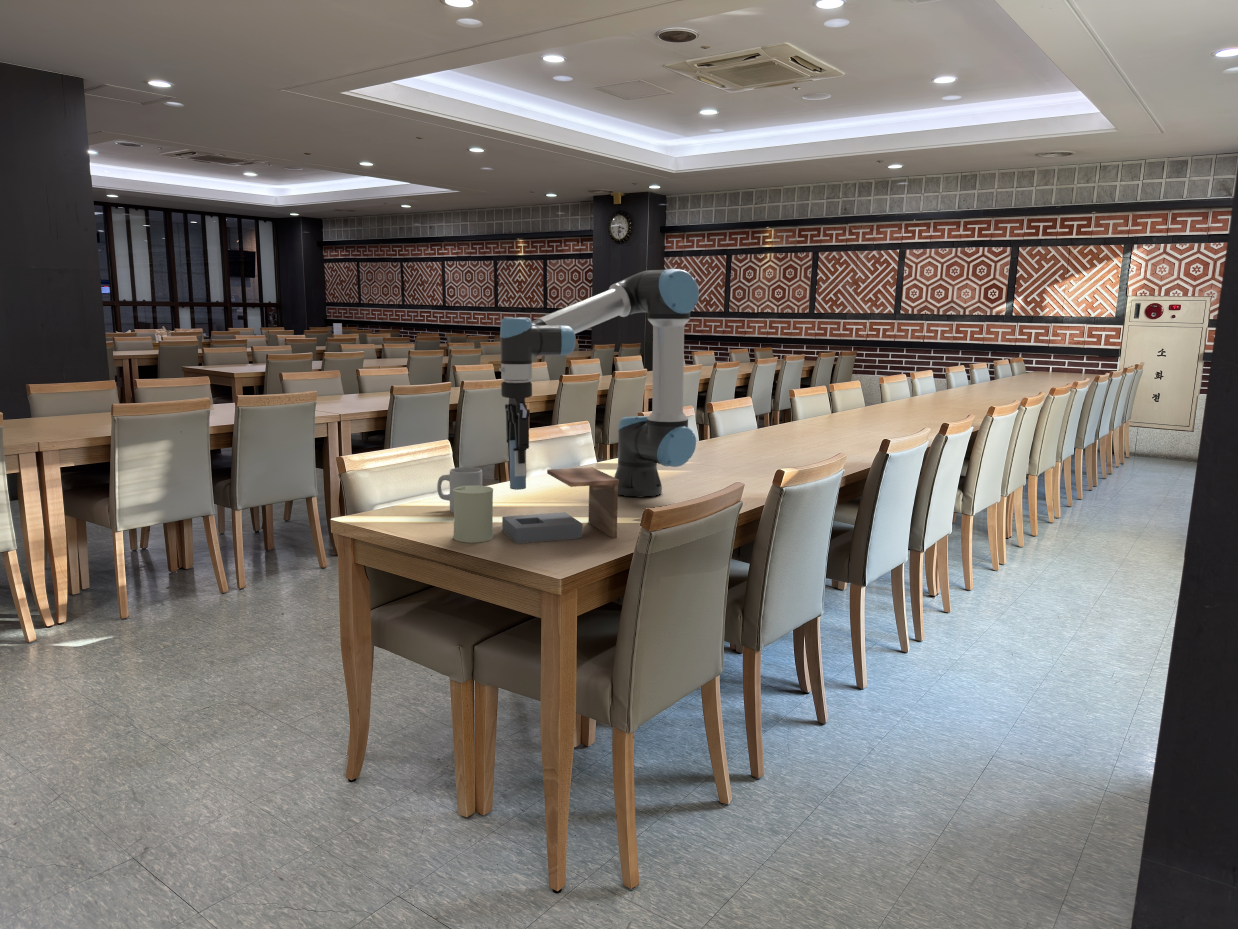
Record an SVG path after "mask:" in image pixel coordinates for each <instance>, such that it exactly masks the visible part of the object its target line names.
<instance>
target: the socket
mask: <svg viewBox="0 0 1238 929" xmlns="http://www.w3.org/2000/svg"><path fill="white" fill-rule="evenodd" d="M501 519H502V523H501V526H502V527H501V529H502V532H503V533H504V534H505V535H506V536H508V538H510V540H512V541H513V542H514V543H515V544H525V543H526V544H527V543H537V542H538V543H539V542H550V541H563V540H572V539H583V523H582V522H581V521H579V520H578V519H576V518H575V517H573V516H572V515H570V514H569V513H567V512H565V511H564V512H552V513H551V512H550V513H535V514H534V513H533V514H524V515H523V514H518V515H506V516H502V518H501Z"/></svg>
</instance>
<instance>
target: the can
mask: <svg viewBox="0 0 1238 929" xmlns="http://www.w3.org/2000/svg"><path fill="white" fill-rule="evenodd" d="M453 494H454V513H453V537H452V539H454V541H457V542H459V543H468V544H471V543H472V544H473V543H475V544H478V543H484V542H489V541H491V540H493V539H494V531H493V530H494V528H493V527H494V526H493V525H494V524H493V523H494V522H493V519H494V518H493V515H494V514H493V512H494V510H493V506H494V505H493V504H494V499H493V498H494V497H493V496H494V488H493V487H491V486H488V485H482V486H480V485H468V486H460V487H456V488H454V489H453Z"/></svg>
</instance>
